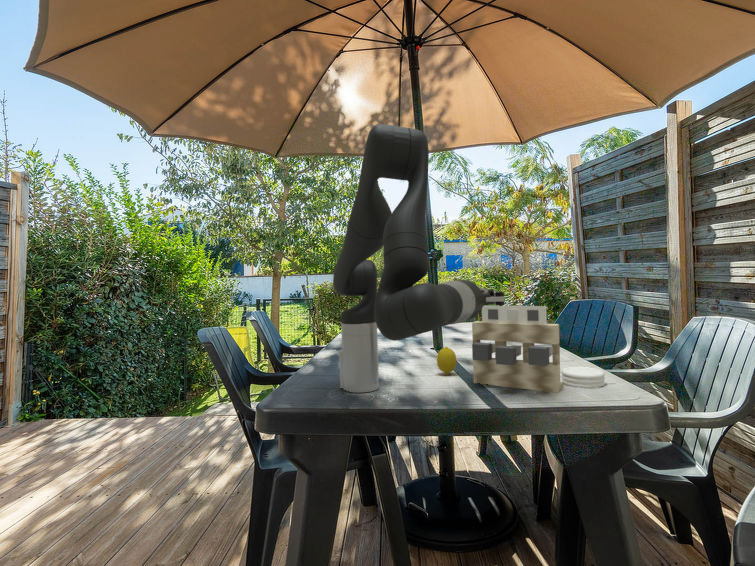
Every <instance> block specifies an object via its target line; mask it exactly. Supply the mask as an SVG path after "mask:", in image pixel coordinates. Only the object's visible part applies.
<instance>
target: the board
mask: <svg viewBox="0 0 755 566" xmlns="http://www.w3.org/2000/svg"><path fill="white" fill-rule="evenodd" d="M471 327H472V328H471V329H472V330H471V332H472V333H471V334H472V337H471V338H472V344H474V343H476V342H479V343H482V341H490V342H491V341H492V342H495V352H494V356H495V357H492V359H491V360H489V361H480V360H473V359H472V364H473V367H472V368H473V384H477V383H480V384H479V385H486V384H488V385H487V386H497V387H504V388H512V389H513V388H514V389H520V390H530V391H539V392H545V393H546V392H547V393H555V394H558V393H559V392H560V391H561V390H562V389H563V388H564V384H563V382H562V381H561V354H560V353H561V348H560V324H559V323H547V325H537V324H509V323H482V320H476V321H473V322H471ZM510 342H511V343H522V359H517V363H516V364H514V365H513V366H512V365H501V364H496V347H498V346H508V345H507V344H508V343H510ZM535 344H542V345H551V346H552V355H551V356H552V362H550V361H549V364H548V365H547V366H538V365H529V357H528V348H529V347H531V346H535Z"/></svg>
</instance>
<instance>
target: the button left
mask: <svg viewBox="0 0 755 566" xmlns="http://www.w3.org/2000/svg"><path fill="white" fill-rule="evenodd" d="M471 350H472V351H471V352H472V355H471V357H472V361H473V360H480V361H489V360H491V359H492V358H493V354H495V341H492V342H491V341H490V342H481V343H479V342H476V343H474V344H473V343H472V344H471Z"/></svg>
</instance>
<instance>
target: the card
mask: <svg viewBox="0 0 755 566" xmlns="http://www.w3.org/2000/svg"><path fill="white" fill-rule="evenodd" d="M481 318H482V320H481V321H482V323H509V324H537V325H547V324H548V321H547V306H546V305H545V306H541V305H540V306H538V305H536V306H535V305H534V306H533V305H502V306H500V305H485V306H483V308H482V309H481Z"/></svg>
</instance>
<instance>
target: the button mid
mask: <svg viewBox="0 0 755 566" xmlns="http://www.w3.org/2000/svg"><path fill="white" fill-rule="evenodd" d="M521 355H522V345H516V344H515V345H514V344H512V345H507V346H498V347H496V364H501V365H512V366H513V365H514V364H516V363H517V360H518V359H517V357H520V356H521Z"/></svg>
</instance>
